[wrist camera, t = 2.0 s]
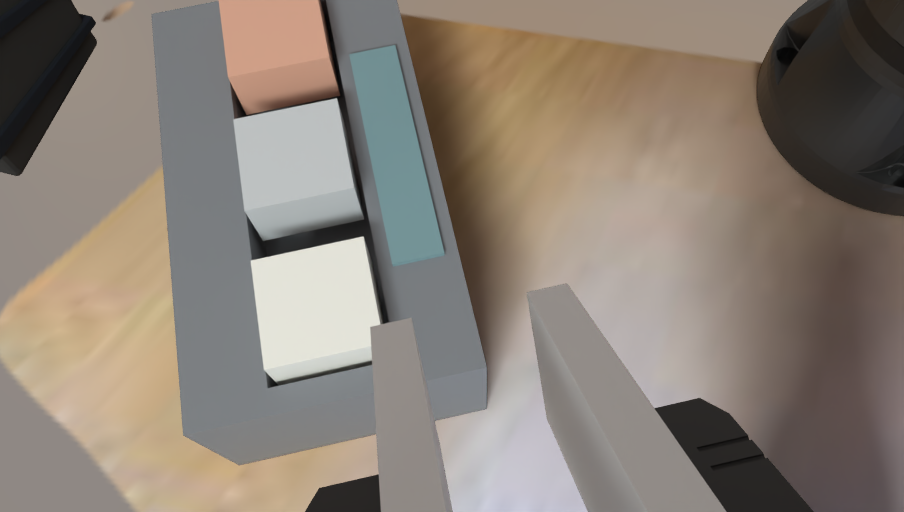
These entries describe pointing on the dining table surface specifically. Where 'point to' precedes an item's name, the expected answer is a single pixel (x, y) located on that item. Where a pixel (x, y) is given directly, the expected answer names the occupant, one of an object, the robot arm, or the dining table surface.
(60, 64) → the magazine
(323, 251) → the ivory key
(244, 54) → the terracotta key
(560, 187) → the dining table surface
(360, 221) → the grey boxy piece
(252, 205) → the grey key
